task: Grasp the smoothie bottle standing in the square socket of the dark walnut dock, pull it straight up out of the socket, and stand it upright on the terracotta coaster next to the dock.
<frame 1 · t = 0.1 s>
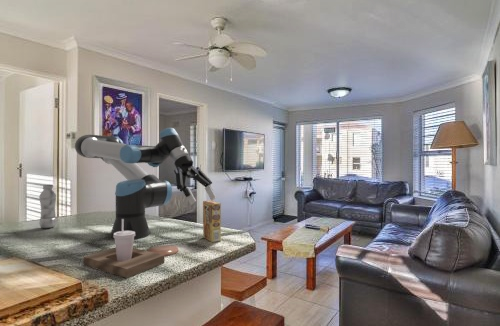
hand: (204, 201, 125), 15 cm above the countertop, tool tilted 35°, fingers open, 13 cm apart
coaster: (162, 251, 107), on the countertop
plastic bottle: (48, 228, 140), on the countertop
dock: (124, 263, 94), on the countertop
candy box: (211, 239, 123), on the countertop
smoothie: (124, 264, 94), resting in dock
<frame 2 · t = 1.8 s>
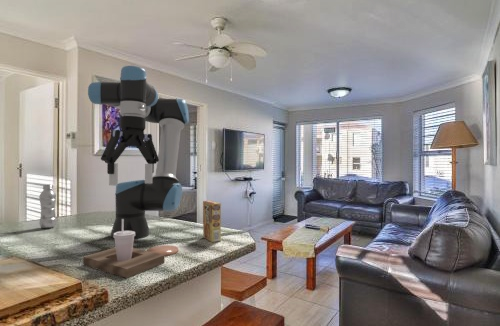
hand: (132, 184, 95), 25 cm above the countertop, tool pointing down, fingers open, 13 cm apart
nothing on the countertop moved.
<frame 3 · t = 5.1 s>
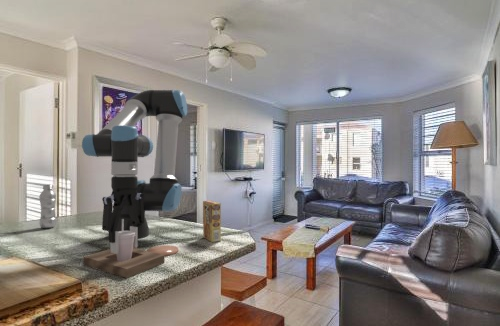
hand: (124, 249, 94), 4 cm above the countertop, tool pointing down, fingers closed on smoothie, 6 cm apart
smoothie: (124, 264, 94), resting in dock, touching gripper
everything else where it was.
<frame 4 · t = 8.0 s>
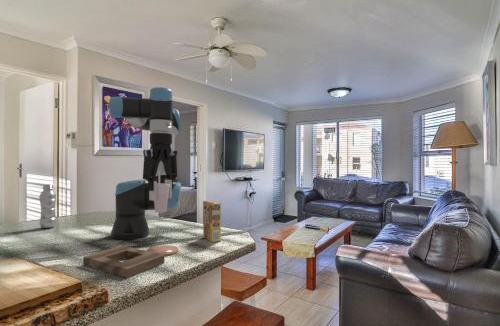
hand: (160, 198, 106), 19 cm above the countertop, tool pointing down, fingers closed on smoothie, 6 cm apart
smoothie: (160, 212, 106), point 14 cm above the countertop, touching gripper
everything else where it was.
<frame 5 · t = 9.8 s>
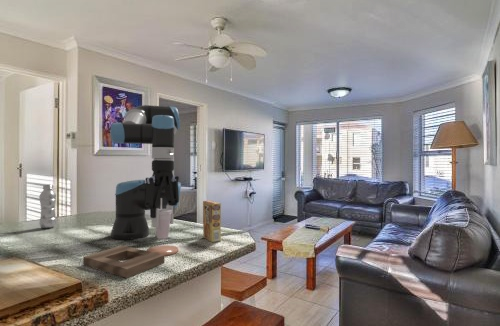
hand: (162, 225, 106), 9 cm above the countertop, tool pointing down, fingers closed on smoothie, 6 cm apart
smoothie: (162, 238, 106), point 5 cm above the countertop, touching gripper
everything else where it was.
when the fingers open (6 cm above the countertop, at t = 11.2 s): smoothie drops 1 cm, resting on coaster.
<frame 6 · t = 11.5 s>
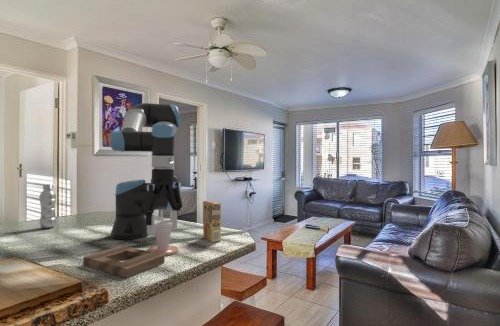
hand: (162, 231, 107), 7 cm above the countertop, tool pointing down, fingers open, 10 cm apart
smoothie: (163, 250, 107), resting on coaster
everything else where it was.
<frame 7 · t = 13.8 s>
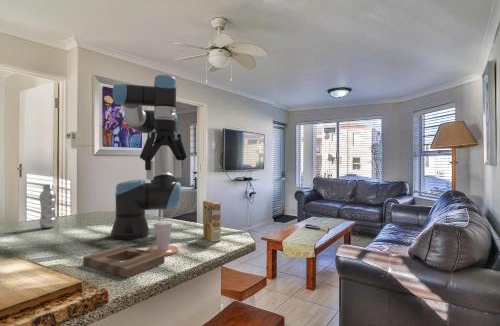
hand: (164, 178, 109), 26 cm above the countertop, tool pointing down, fingers open, 13 cm apart
nothing on the countertop moved.
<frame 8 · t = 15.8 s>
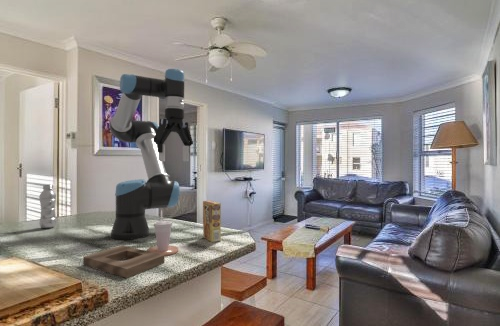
hand: (174, 161, 122), 32 cm above the countertop, tool pointing down, fingers open, 13 cm apart
nothing on the countertop moved.
at the end: smoothie 0.2 cm off-centre on the coaster, point 0.4 cm above the coaster's base; smoothie tilted 0°; the gripper is holding nothing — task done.
